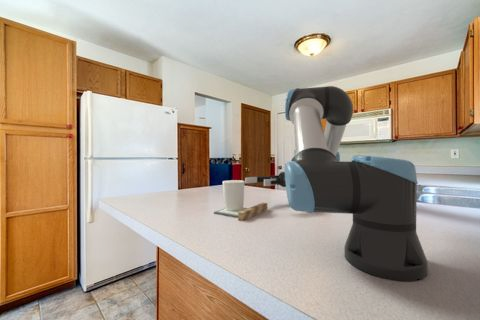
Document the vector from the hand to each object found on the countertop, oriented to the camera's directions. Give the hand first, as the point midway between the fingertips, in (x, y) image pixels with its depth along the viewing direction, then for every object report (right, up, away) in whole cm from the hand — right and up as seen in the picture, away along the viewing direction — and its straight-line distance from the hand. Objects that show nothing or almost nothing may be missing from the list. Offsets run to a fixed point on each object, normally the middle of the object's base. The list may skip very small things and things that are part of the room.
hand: (254, 181), depth 98 cm
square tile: (-8, -12, -5) cm, 16 cm away
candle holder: (-9, -12, -2) cm, 15 cm away
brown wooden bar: (-1, -12, -9) cm, 15 cm away
